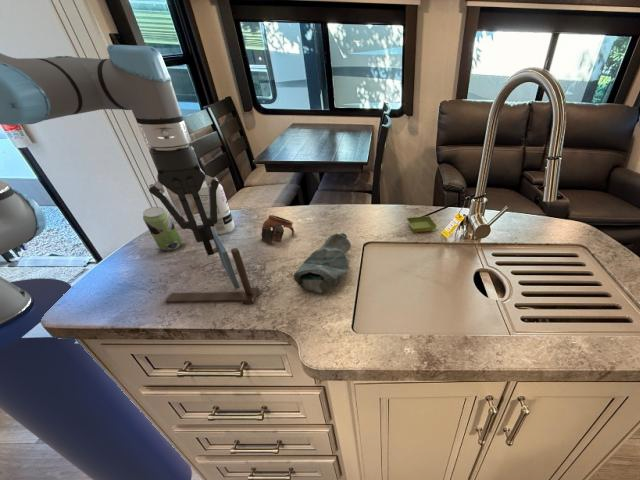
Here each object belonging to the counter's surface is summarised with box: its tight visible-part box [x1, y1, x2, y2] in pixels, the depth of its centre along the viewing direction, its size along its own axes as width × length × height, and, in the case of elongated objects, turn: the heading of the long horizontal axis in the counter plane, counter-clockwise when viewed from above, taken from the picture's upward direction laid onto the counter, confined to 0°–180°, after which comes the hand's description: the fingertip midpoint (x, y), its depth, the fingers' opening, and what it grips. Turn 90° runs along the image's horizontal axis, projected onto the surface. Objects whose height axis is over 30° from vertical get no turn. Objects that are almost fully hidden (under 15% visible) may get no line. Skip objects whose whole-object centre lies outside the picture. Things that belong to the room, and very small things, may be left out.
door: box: [212, 230, 241, 290], centre depth 77 cm, size 13×2×10 cm, turn 36°
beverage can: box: [142, 206, 183, 251], centre depth 91 cm, size 6×7×12 cm
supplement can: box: [198, 180, 235, 236], centre depth 100 cm, size 8×8×15 cm
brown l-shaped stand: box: [165, 247, 260, 305], centre depth 72 cm, size 20×5×13 cm, turn 94°
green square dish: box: [406, 215, 438, 233], centre depth 109 cm, size 9×9×2 cm
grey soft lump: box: [293, 233, 352, 294], centre depth 85 cm, size 13×7×25 cm
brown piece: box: [261, 214, 295, 245], centre depth 99 cm, size 12×10×8 cm
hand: (210, 252), depth 77 cm, fingers closed
